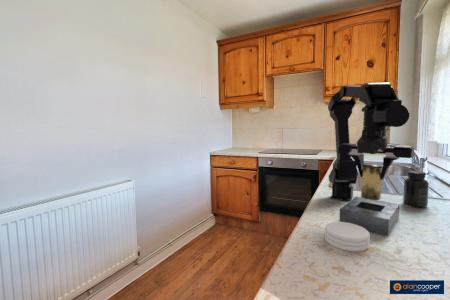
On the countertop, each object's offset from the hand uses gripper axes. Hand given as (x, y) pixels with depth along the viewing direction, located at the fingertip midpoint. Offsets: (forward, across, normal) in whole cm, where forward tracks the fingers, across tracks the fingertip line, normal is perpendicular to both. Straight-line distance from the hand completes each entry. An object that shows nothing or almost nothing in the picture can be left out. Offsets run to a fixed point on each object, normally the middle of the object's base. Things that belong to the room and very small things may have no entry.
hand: (371, 178), depth 71 cm
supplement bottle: (+13, +8, +24) cm, 29 cm away
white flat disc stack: (+13, 0, -20) cm, 24 cm away
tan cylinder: (+6, 0, 0) cm, 6 cm away
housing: (+13, 0, -2) cm, 13 cm away
